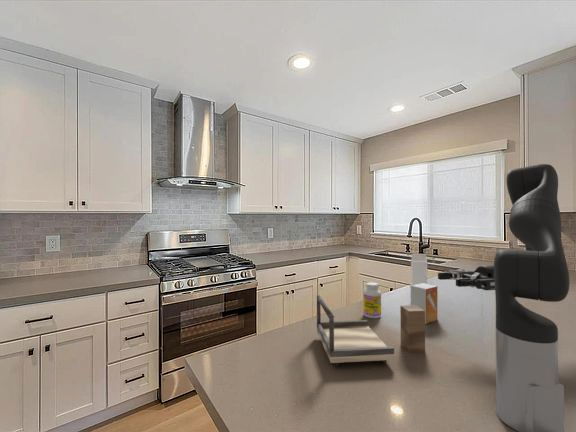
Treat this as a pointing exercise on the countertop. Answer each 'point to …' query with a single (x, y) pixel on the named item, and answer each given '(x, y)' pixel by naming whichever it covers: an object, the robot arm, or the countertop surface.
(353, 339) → the cart
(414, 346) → the walnut block
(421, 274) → the milk
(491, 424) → the countertop surface
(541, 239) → the robot arm
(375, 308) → the supplement bottle
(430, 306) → the small box
